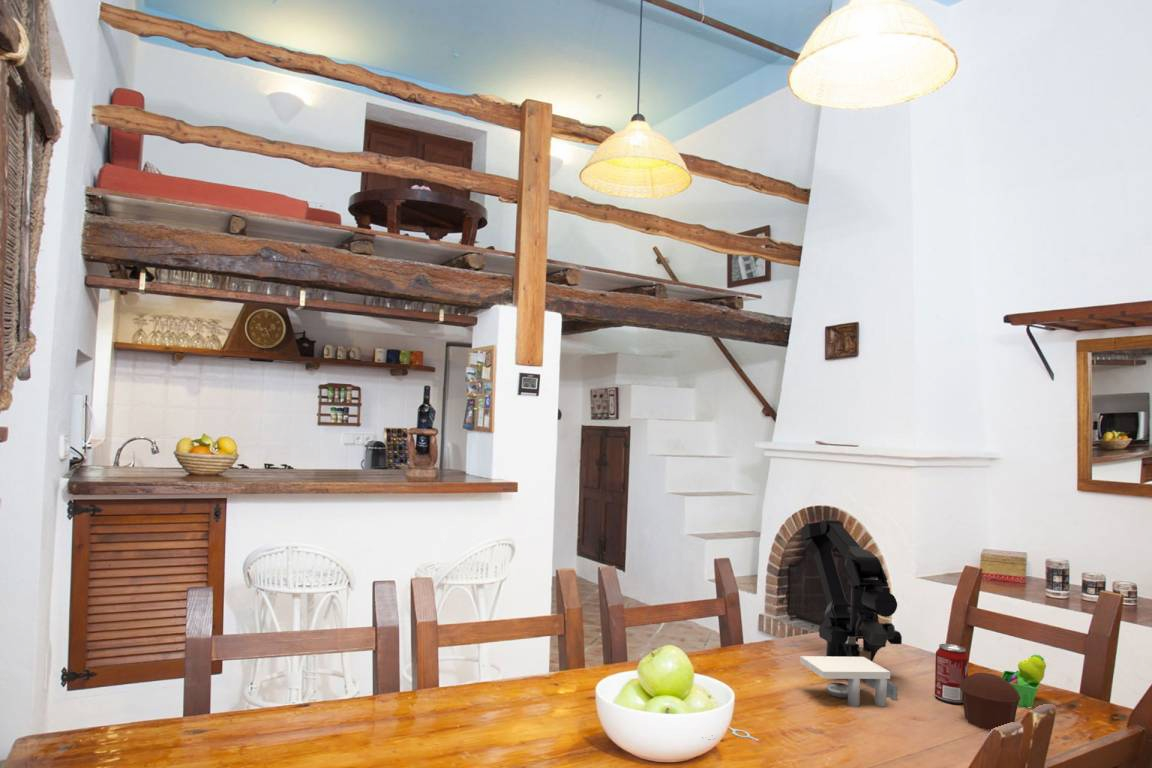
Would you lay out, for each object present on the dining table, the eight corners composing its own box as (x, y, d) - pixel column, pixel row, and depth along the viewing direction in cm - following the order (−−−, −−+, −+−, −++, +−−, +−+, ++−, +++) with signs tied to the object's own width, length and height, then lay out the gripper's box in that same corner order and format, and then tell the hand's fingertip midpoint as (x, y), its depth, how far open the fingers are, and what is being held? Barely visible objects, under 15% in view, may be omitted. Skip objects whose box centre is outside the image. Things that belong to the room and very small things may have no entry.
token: (822, 692, 176) (822, 683, 177) (837, 690, 179) (837, 681, 179) (839, 698, 172) (839, 689, 172) (854, 696, 175) (854, 687, 175)
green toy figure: (1003, 690, 186) (1004, 643, 186) (1046, 700, 181) (1047, 651, 181) (998, 703, 176) (1000, 653, 177) (1043, 713, 171) (1044, 662, 172)
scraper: (850, 675, 191) (851, 646, 191) (861, 675, 191) (862, 646, 191) (889, 699, 174) (890, 668, 174) (901, 699, 174) (902, 668, 175)
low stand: (799, 688, 178) (800, 656, 178) (862, 689, 180) (863, 656, 181) (822, 706, 167) (823, 671, 167) (889, 706, 169) (890, 672, 170)
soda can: (963, 707, 172) (965, 653, 172) (931, 699, 176) (933, 646, 176) (969, 700, 177) (971, 647, 178) (937, 692, 181) (939, 641, 182)
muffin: (1028, 727, 162) (1029, 679, 162) (1008, 739, 155) (1010, 688, 155) (969, 709, 171) (971, 664, 171) (948, 719, 163) (950, 672, 164)
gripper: (844, 614, 180) (841, 681, 179) (916, 615, 183) (914, 681, 183) (821, 602, 191) (819, 666, 190) (889, 604, 194) (887, 666, 194)
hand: (860, 670), depth 189 cm, fingers closed on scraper, 3 cm apart
